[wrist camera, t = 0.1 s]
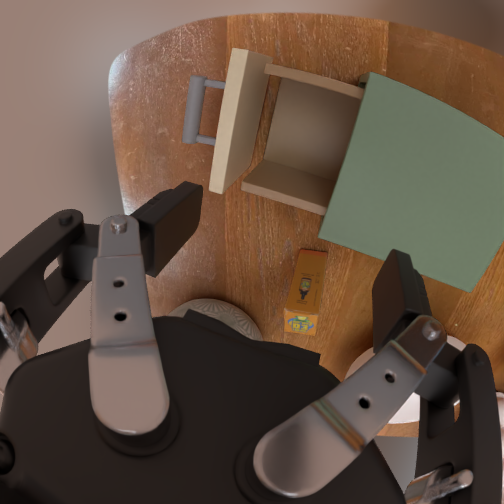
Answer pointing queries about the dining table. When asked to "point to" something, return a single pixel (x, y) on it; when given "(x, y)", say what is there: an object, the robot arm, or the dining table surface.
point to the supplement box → (305, 293)
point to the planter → (222, 315)
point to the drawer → (277, 130)
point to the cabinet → (419, 185)
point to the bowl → (412, 405)
